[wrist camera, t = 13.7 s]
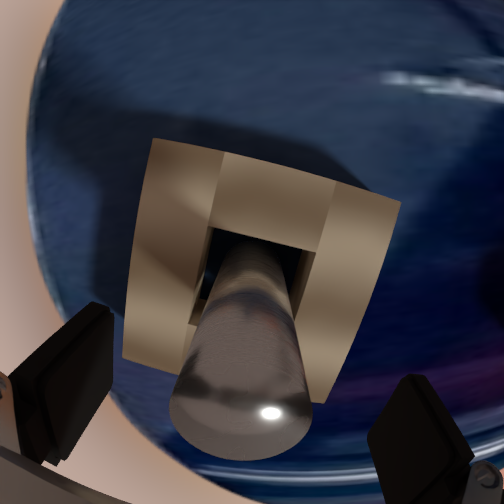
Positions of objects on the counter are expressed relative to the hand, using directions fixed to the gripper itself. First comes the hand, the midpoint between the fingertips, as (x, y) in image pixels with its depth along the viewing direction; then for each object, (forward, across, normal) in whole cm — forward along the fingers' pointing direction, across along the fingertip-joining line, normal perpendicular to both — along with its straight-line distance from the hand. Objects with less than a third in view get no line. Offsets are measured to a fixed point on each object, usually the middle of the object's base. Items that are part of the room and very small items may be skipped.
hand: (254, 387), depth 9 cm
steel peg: (+13, 0, +1) cm, 13 cm away
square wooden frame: (+13, +1, +1) cm, 13 cm away
